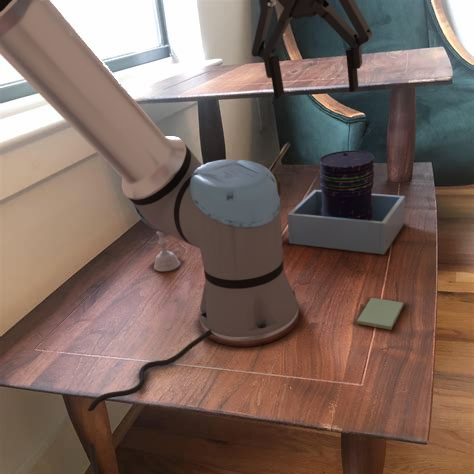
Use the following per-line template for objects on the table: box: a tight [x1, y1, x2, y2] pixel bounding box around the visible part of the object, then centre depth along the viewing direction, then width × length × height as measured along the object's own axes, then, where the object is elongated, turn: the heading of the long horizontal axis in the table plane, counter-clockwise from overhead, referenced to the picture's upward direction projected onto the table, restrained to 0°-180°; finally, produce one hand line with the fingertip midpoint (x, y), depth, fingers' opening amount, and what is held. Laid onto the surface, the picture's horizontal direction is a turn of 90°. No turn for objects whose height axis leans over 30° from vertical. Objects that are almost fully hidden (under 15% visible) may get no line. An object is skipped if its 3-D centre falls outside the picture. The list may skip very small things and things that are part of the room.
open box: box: [286, 189, 406, 256], centre depth 106 cm, size 14×19×6 cm
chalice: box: [153, 230, 181, 272], centre depth 99 cm, size 7×7×18 cm
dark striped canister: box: [319, 150, 375, 221], centre depth 103 cm, size 10×10×15 cm
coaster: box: [356, 297, 404, 331], centre depth 81 cm, size 7×5×1 cm
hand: (315, 92), depth 95 cm, fingers open, 13 cm apart
